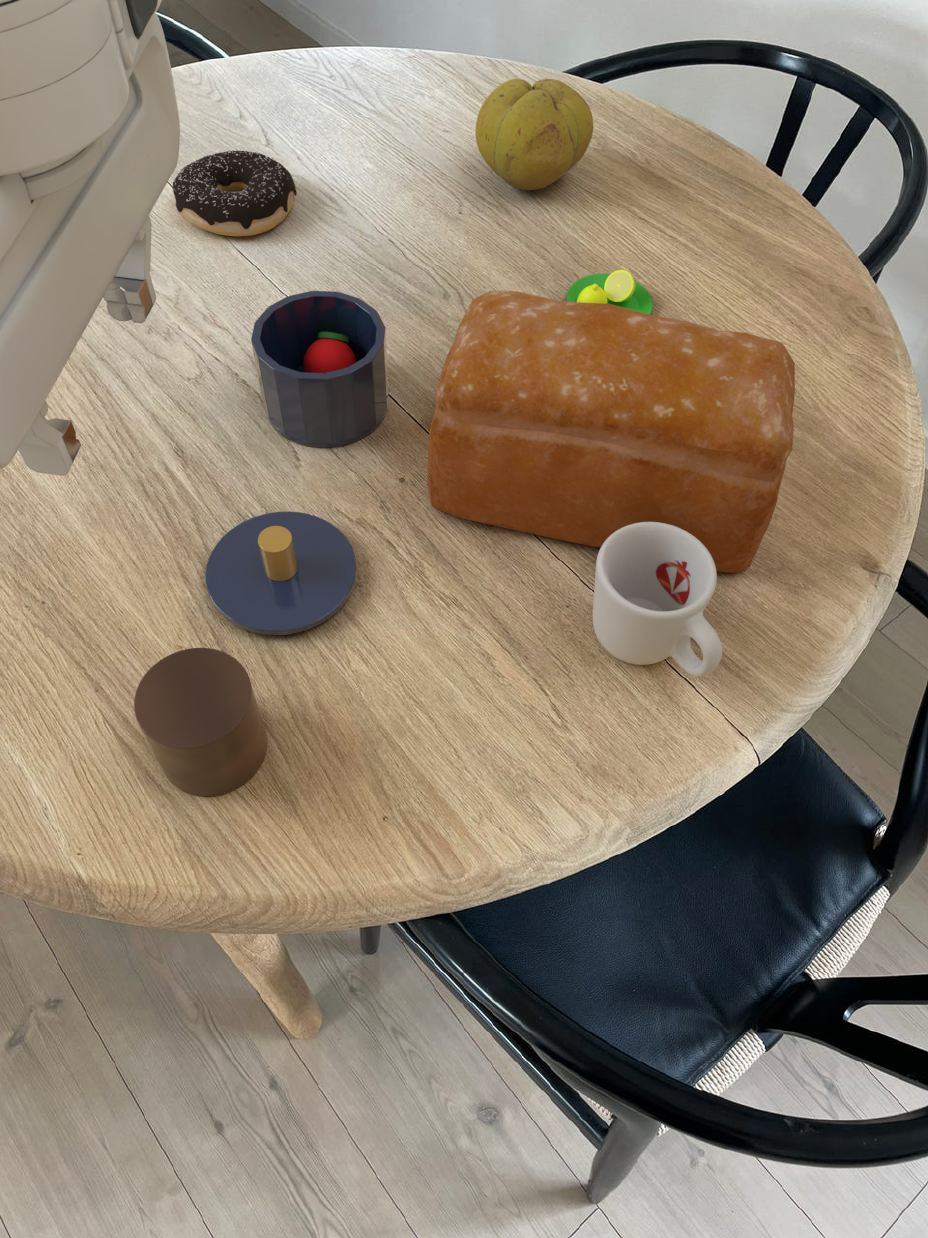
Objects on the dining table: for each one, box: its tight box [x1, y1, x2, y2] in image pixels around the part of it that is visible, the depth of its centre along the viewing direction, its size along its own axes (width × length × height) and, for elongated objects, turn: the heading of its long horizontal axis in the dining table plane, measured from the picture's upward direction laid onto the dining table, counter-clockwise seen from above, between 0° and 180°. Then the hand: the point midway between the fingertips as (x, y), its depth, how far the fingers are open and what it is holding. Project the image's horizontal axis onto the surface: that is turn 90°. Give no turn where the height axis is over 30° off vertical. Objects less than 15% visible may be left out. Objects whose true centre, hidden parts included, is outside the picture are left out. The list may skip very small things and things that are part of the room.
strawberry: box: [304, 332, 356, 373], centre depth 82 cm, size 4×4×5 cm
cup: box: [592, 522, 723, 678], centre depth 67 cm, size 11×8×8 cm
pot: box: [250, 290, 389, 449], centre depth 80 cm, size 10×10×8 cm
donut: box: [172, 149, 298, 237], centre depth 96 cm, size 11×12×4 cm
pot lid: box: [204, 511, 357, 636], centre depth 71 cm, size 11×11×5 cm
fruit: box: [474, 78, 594, 191], centre depth 98 cm, size 11×12×10 cm
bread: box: [426, 290, 796, 574], centre depth 72 cm, size 14×26×16 cm, turn 76°
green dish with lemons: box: [566, 269, 653, 315], centre depth 90 cm, size 8×8×3 cm
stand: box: [133, 647, 268, 798], centre depth 62 cm, size 7×7×7 cm
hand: (98, 382), depth 42 cm, fingers open, 8 cm apart
